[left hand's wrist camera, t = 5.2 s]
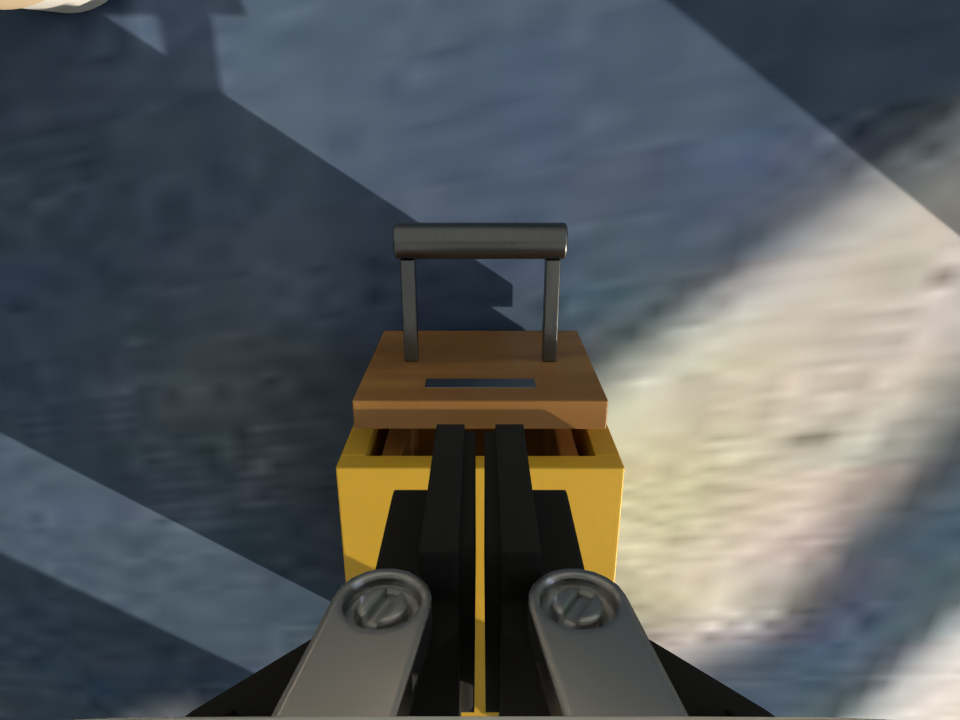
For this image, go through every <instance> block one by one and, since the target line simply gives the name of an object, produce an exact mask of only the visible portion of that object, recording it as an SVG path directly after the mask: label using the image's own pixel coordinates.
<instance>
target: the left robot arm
mask: <svg viewBox="0 0 960 720" xmlns="http://www.w3.org/2000/svg"><path fill="white" fill-rule="evenodd" d="M475 602H476V432H465V424H437V426H436V433H435V440H434V447H433V454H432V461H431V468H430V476H429V483H428V490H394V492H393V495H392V499H391V504H390V508H389V512H388V517H387V521H386V525H385V530H384V534H383V538H382V543H381V547H380V552H379V556H378V560H377V565H376V569H375V570H372V571H367V572H364V573H362V574H360V575H357V576H355V577H353V578H351V579H350V580H349V581H347V582H346V583H345V584H343V585H342V586H341V587H340V589H339V590H338V591H337V592H336V594H335V595H334V597H333V599H332V601H331V602H330V604H329V606H328V608H327V610H326V612H325V614H324V616H323V618H322V620H321V622H320V624H319V625H318V627H317V629H316V631H315V633H314V635H313V637H312V639H311V640H309V641H307V642H306V643H304V644H303V645H301V646H299V647H298V648H296V649H294V650H293V651H291V652H289V653H288V654H286V655H284V656H283V657H281V658H279V659H278V660H276V661H274V662H273V663H271V664H270V665H268V666H266V667H265V668H263V669H261V670H260V671H258V672H256V673H255V674H253V675H251V676H250V677H248V678H246V679H245V680H243V681H241V682H240V683H238V684H236V685H235V686H233V687H232V688H230V689H228V690H227V691H225V692H223V693H222V694H220V695H218V696H217V697H215V698H213V699H212V700H210V701H208V702H207V703H205V704H203V705H202V706H200V707H198V708H197V709H195V710H194V711H192V712H191V713H189V714H188V715H187V716H185V717H128V718H102V719H76V720H884V719H858V718H831V717H775V716H773V715H772V714H771V713H769V712H768V711H766V710H765V709H763V708H762V707H760V706H758V705H757V704H755V703H753V702H752V701H750V700H748V699H747V698H745V697H743V696H742V695H740V694H738V693H737V692H735V691H733V690H732V689H730V688H728V687H727V686H725V685H724V684H722V683H720V682H719V681H717V680H715V679H714V678H712V677H710V676H709V675H707V674H705V673H704V672H702V671H700V670H699V669H697V668H695V667H694V666H692V665H690V664H689V663H687V662H686V661H684V660H682V659H681V658H679V657H677V656H676V655H674V654H672V653H671V652H669V651H667V650H666V649H664V648H662V647H661V646H659V645H657V644H656V643H654V642H653V641H651V640H649V639H648V637H647V635H646V633H645V631H644V629H643V627H642V625H641V624H640V622H639V620H638V618H637V616H636V614H635V612H634V610H633V608H632V606H631V604H630V602H629V601H628V599H627V597H626V595H625V594H624V592H623V591H622V590H621V589H620V587H619V586H618V585H617V584H615V583H614V582H613V581H611V580H610V579H609V578H607V577H605V576H603V575H600V574H598V573H596V572H593V571H588V570H585V569H584V565H583V560H582V556H581V552H580V547H579V543H578V539H577V534H576V530H575V525H574V521H573V517H572V512H571V508H570V504H569V499H568V495H567V492H566V490H532V483H531V476H530V468H529V461H528V454H527V447H526V440H525V433H524V426H523V424H495V432H484V602H485V709H486V712H499V716H461V712H474V709H475Z"/></svg>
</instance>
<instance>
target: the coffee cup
mask: <svg viewBox="0 0 960 720" xmlns="http://www.w3.org/2000/svg"><path fill="white" fill-rule="evenodd" d="M107 1H108V0H0V10H11V9H20V8H24V9H33V10H42V11H51V12H60V13H79V12H84V11H88V10H91V9H94V8H96V7H98V6H100V5H102V4H104V3H105V2H107Z"/></svg>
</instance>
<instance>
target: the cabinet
mask: <svg viewBox="0 0 960 720" xmlns="http://www.w3.org/2000/svg"><path fill="white" fill-rule="evenodd" d="M571 430H572V434H573V437H574V441H575V444H576V448H577V451H578V455H579V456H528V461H529V468H530V476H531V483H532V490H566V492H567V495H568V499H569V504H570V508H571V512H572V517H573V521H574V525H575V530H576V534H577V539H578V543H579V547H580V552H581V556H582V560H583V565H584V569H585V570H588V571H593V572H596V573H598V574H600V575H603V576H605V577H607V578H609V579H610V580H611V581H613V582H614V583H615V572H616V560H617V549H618V538H619V526H620V515H621V504H622V492H623V481H624V470H625V468H624V466H623V463H622V461H621V458H620V456H619V453H618V451H617V448H616V446H615V443H614V441H613V439H612V436H611V434H610V431H609V429H608V426H607V424H606V429H571ZM388 432H389V429H355V428H354V425H353V427H352V430H351V432H350V435H349V437H348V439H347V442H346V444H345V447H344V449H343V451H342V454H341V457H340V459H339V462H338V464H337V466H336V477H337V488H338V500H339V511H340V522H341V534H342V545H343V556H344V568H345V579H346V582H347V581H349V580H350V579H351V578H353V577H355V576H357V575H360V574H362V573H364V572H367V571H372V570H375V569H376V565H377V560H378V556H379V552H380V547H381V543H382V538H383V534H384V530H385V525H386V521H387V517H388V512H389V508H390V504H391V499H392V495H393V492H394V490H428V483H429V476H430V468H431V461H432V456H382V453H383V449H384V446H385V442H386V439H387V436H388ZM461 716H499V712H486V709H485V602H484V456H476V602H475V709H474V712H461Z"/></svg>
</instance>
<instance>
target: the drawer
mask: <svg viewBox="0 0 960 720" xmlns="http://www.w3.org/2000/svg"><path fill="white" fill-rule="evenodd" d="M567 246H568V231H567V225H566V224H565V223H395V225H394V228H393V250H394V255H395V258H397V259H401V260H400V272H401V295H402V318H403V331H384V332H383V335H382V337H381V339H380V341H379V343H378V346H377V348H376V350H375V352H374V354H373V357H372V359H371V361H370V363H369V365H368V368H367V370H366V372H365V374H364V376H363V379H362V381H361V383H360V385H359V387H358V390H357V392H356V394H355V396H354V398H353V401H352V404H353V417H354V428H355V429H389V432H388V436H387V439H386V442H385V446H384V449H383V453H382V456H432V454H433V447H434V440H435V433H436V426H437V424H465V432H476V456H484V432H495V424H523V426H524V433H525V440H526V447H527V454H528V456H579V455H578V451H577V448H576V444H575V441H574V437H573V434H572V430H571V429H606V423H607V409H608V400H607V398H606V395H605V393H604V391H603V389H602V386H601V384H600V382H599V380H598V378H597V375H596V373H595V371H594V369H593V366H592V364H591V362H590V360H589V357H588V355H587V353H586V351H585V348H584V346H583V344H582V342H581V339H580V337H579V335H578V333H577V331H558V311H559V288H560V265H561V261H560V259H564V258H565V257H566V254H567ZM416 259H545V272H544V301H543V329H542V331H418V310H417V281H416Z"/></svg>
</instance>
